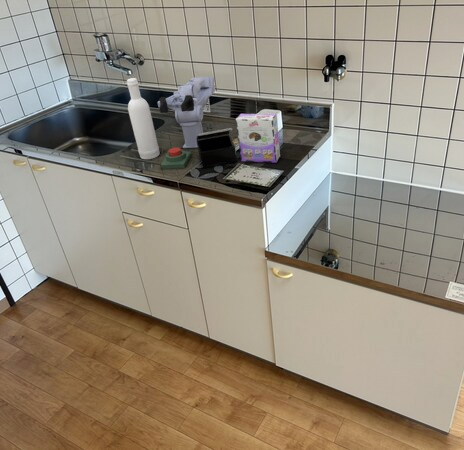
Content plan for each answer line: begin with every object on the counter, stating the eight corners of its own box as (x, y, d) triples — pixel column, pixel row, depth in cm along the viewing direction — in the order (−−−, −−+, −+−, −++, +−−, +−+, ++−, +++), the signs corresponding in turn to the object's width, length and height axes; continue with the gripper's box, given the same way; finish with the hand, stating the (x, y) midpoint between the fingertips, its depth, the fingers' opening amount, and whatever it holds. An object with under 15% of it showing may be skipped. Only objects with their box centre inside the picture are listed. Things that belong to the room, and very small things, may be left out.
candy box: (280, 156, 172) (277, 113, 163) (276, 163, 167) (272, 119, 158) (245, 154, 176) (240, 112, 167) (240, 161, 172) (234, 118, 163)
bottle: (141, 152, 188) (122, 77, 172) (160, 149, 188) (143, 74, 172) (139, 160, 181) (119, 83, 165) (159, 158, 182) (141, 80, 165)
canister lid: (232, 129, 165) (232, 127, 165) (197, 136, 164) (196, 134, 164) (229, 134, 178) (228, 132, 178) (196, 140, 176) (196, 138, 176)
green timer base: (169, 156, 182) (167, 147, 180) (191, 155, 181) (190, 146, 179) (161, 169, 173) (159, 160, 171) (184, 168, 172) (183, 159, 170)
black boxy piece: (237, 162, 171) (234, 146, 168) (203, 168, 170) (200, 152, 166) (231, 149, 181) (229, 134, 178) (199, 155, 180) (196, 140, 176)
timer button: (171, 152, 177) (170, 147, 176) (182, 151, 177) (181, 147, 176) (168, 157, 174) (167, 152, 173) (179, 156, 173) (178, 152, 172)
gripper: (161, 89, 173) (149, 99, 161) (198, 86, 171) (189, 96, 159) (164, 108, 176) (153, 119, 165) (201, 106, 174) (193, 116, 162)
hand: (171, 109), depth 162 cm, fingers open, 7 cm apart
